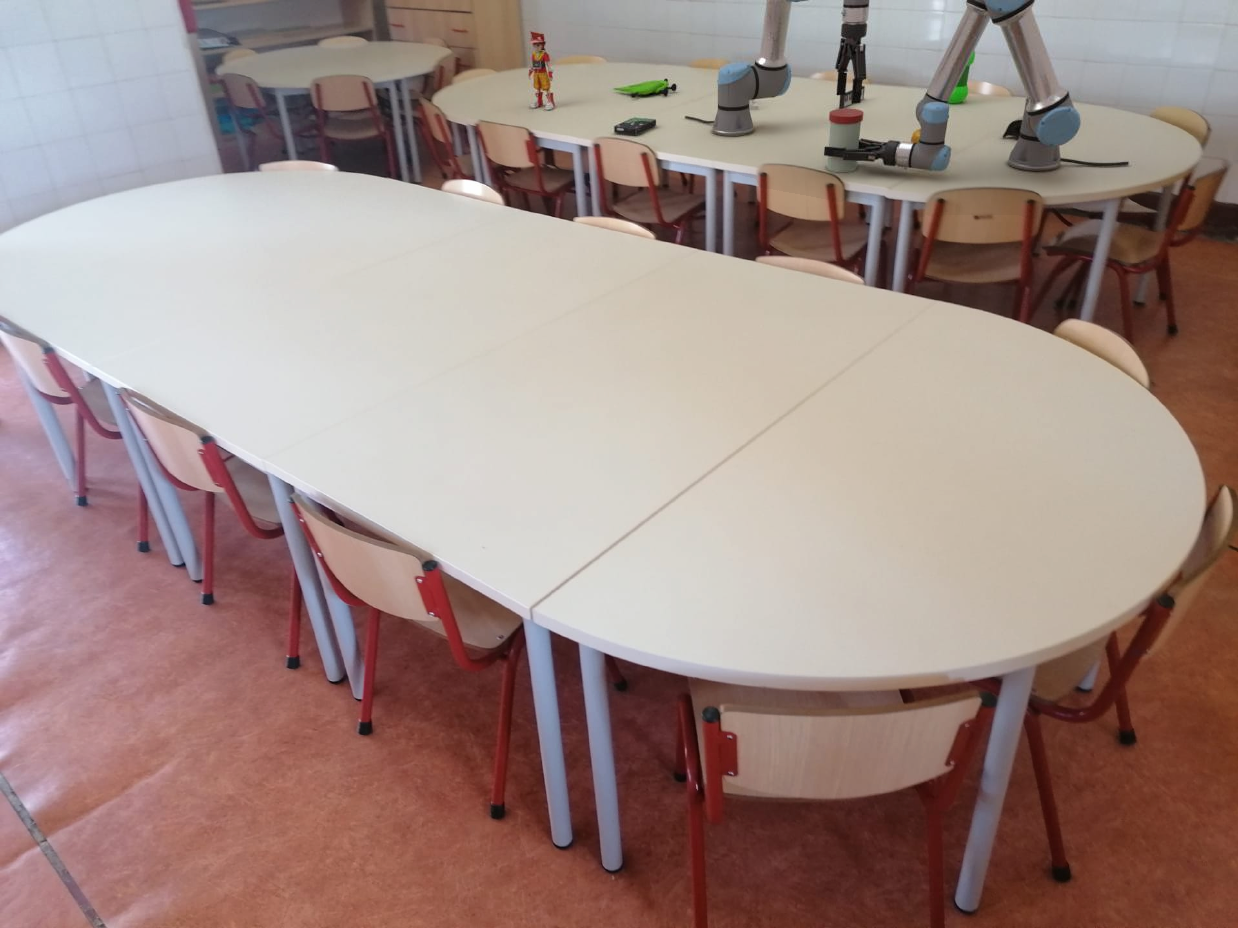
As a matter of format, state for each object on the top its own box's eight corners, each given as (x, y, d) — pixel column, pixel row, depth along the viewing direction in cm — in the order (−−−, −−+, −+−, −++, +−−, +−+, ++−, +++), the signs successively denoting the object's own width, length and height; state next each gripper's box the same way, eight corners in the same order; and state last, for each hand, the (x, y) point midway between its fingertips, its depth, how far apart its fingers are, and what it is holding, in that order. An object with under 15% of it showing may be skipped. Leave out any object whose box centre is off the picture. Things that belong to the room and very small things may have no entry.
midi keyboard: (841, 108, 355) (842, 95, 352) (838, 108, 356) (840, 94, 353) (863, 99, 366) (865, 86, 363) (860, 98, 366) (862, 86, 364)
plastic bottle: (973, 101, 354) (984, 32, 339) (955, 106, 349) (966, 36, 335) (952, 97, 361) (962, 29, 346) (934, 102, 356) (944, 33, 342)
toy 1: (525, 109, 381) (517, 32, 364) (534, 104, 388) (527, 28, 371) (550, 110, 377) (543, 32, 360) (559, 105, 384) (553, 28, 367)
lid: (826, 116, 289) (827, 109, 288) (859, 115, 289) (860, 108, 287) (831, 124, 281) (832, 117, 280) (865, 123, 280) (866, 116, 279)
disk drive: (637, 136, 338) (656, 126, 348) (636, 129, 336) (656, 118, 346) (613, 134, 342) (633, 123, 352) (613, 126, 341) (633, 116, 351)
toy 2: (686, 85, 398) (631, 84, 414) (685, 72, 395) (629, 72, 411) (651, 104, 381) (596, 103, 397) (650, 92, 378) (594, 91, 394)
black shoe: (1032, 109, 328) (1056, 91, 320) (1046, 130, 329) (1070, 113, 320) (998, 131, 311) (1023, 113, 303) (1012, 153, 311) (1038, 136, 303)
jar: (825, 164, 298) (829, 111, 288) (853, 163, 297) (858, 110, 287) (829, 173, 290) (833, 118, 280) (858, 172, 289) (864, 117, 280)
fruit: (905, 142, 301) (920, 120, 298) (906, 145, 309) (921, 124, 306) (926, 156, 300) (941, 134, 296) (927, 158, 307) (942, 137, 304)
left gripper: (828, 18, 278) (823, 92, 290) (858, 29, 258) (851, 108, 271) (851, 16, 279) (845, 90, 291) (882, 27, 259) (875, 106, 272)
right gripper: (885, 176, 276) (816, 168, 286) (907, 156, 291) (841, 149, 302) (888, 151, 272) (818, 144, 282) (910, 132, 287) (843, 126, 297)
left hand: (848, 99), depth 281 cm, fingers open, 11 cm apart
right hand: (830, 147), depth 292 cm, fingers closed on jar, 9 cm apart
